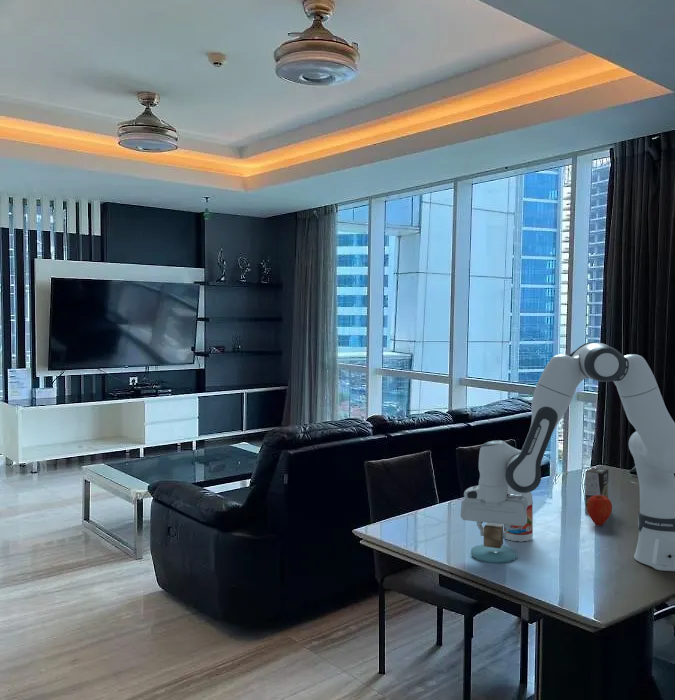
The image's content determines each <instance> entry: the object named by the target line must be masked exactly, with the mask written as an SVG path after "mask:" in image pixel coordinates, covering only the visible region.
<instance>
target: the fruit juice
mask: <svg viewBox="0 0 675 700" xmlns="http://www.w3.org/2000/svg"><path fill="white" fill-rule="evenodd" d="M508 494H513V495H522V496H523V497H525V498H526V499H527V501H528V507H527V509H526V512H527V523H526V524H525V525H524V526H514V525H511V527H510V528H509V530H508V531H507V538H506V540H508V541H510V540H511V542H515V541H519V542H518V543H523V541H526V542H530V541H531V540H532V539H533V535H534V534H533V532H534V531H533V530H534V529H533V528H534V523H533V521H534V520H533V517H534V516H533V504H534V503H533V494H532V491H531V492H528V493H520V492H517V491H515V490H513V489H512V488H511V487H510V486H509V485H508ZM523 499H524V498H523ZM505 530H506V528H505V524H503V531H505ZM529 540H530V541H529Z"/></svg>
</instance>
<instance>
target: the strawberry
mask: <svg viewBox="0 0 675 700" xmlns="http://www.w3.org/2000/svg"><path fill="white" fill-rule="evenodd" d="M612 510H613V505H612V501H611V500H610V499H609V497H608V498H607V497H606V496H602V495H594V496H592V497H590V498H589V500H588V503H587V512H588V514H587V515H588V516H589V518H590V519H591V521H592V522H593V523H594V525H596V526H597V525H598V526H597V527H599V526H603V525H604V524H606V522H607V520H608V519H609V518H610V516H611V515H612V512H613V511H612Z"/></svg>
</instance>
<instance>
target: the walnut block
mask: <svg viewBox="0 0 675 700" xmlns="http://www.w3.org/2000/svg"><path fill="white" fill-rule="evenodd" d="M483 529H484V536H483V545H484V547H492V548H501V546H502V545H503V544H504V538H501V532H502V531H504V524H495V523H485V525H484V526H483ZM503 546H504V545H503Z"/></svg>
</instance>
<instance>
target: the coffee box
mask: <svg viewBox="0 0 675 700" xmlns="http://www.w3.org/2000/svg"><path fill="white" fill-rule="evenodd" d="M584 474H585V475H584V477H585V479H584V481H585V482H584V514H586V515H589V514H588V512H587V503H588V500H589V498H590V497H592V496H594V495H602V496H606V497H607V498H608V499H609V469H608V468H601V467H600V468H597V467H596V468H595V467H591V468H590V469H587V470H586V471H585V472H584Z"/></svg>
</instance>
